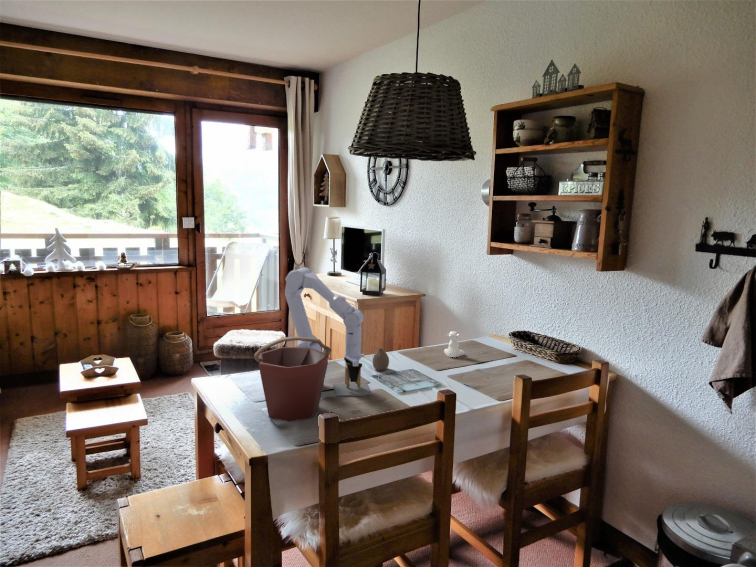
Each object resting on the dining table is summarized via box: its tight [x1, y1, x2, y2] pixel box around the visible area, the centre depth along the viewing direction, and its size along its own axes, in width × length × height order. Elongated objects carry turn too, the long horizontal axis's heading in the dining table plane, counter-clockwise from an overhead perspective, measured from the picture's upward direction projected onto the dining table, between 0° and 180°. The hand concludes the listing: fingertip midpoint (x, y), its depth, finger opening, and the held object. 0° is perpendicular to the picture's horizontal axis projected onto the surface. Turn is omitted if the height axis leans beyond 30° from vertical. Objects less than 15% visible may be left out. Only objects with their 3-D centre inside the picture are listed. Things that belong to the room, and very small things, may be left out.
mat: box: [332, 382, 373, 398], centre depth 188 cm, size 13×11×1 cm
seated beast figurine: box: [443, 330, 466, 359], centre depth 233 cm, size 10×9×12 cm
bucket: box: [253, 336, 332, 423], centre depth 166 cm, size 24×22×25 cm
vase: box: [372, 348, 390, 372], centre depth 211 cm, size 7×7×9 cm
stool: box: [344, 362, 362, 388], centre depth 187 cm, size 5×5×8 cm
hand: (352, 379), depth 187 cm, fingers closed on stool, 5 cm apart
